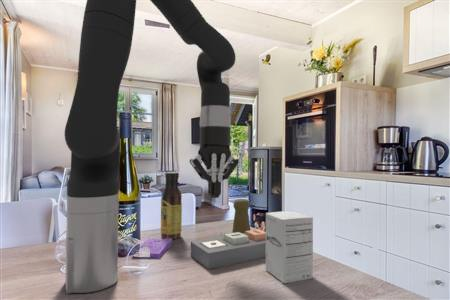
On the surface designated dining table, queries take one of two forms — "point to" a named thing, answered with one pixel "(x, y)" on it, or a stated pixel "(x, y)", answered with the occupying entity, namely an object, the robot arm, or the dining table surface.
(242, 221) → the cork
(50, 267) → the dining table surface
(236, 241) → the sage key
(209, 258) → the keypad
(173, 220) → the sauce bottle
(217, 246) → the cream key
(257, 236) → the terracotta key
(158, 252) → the sponges
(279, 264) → the supplement box
